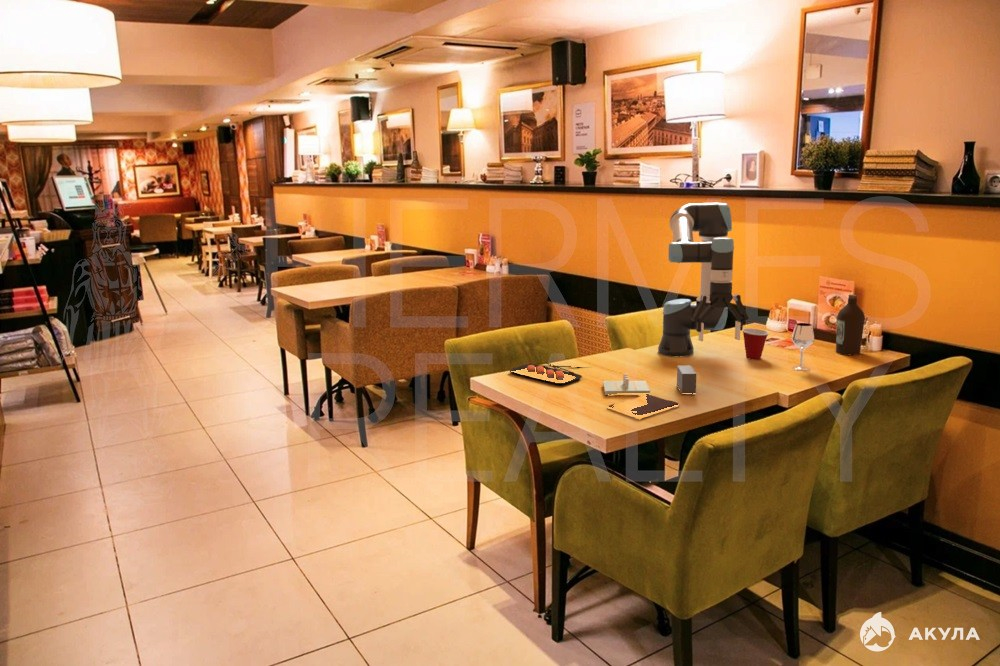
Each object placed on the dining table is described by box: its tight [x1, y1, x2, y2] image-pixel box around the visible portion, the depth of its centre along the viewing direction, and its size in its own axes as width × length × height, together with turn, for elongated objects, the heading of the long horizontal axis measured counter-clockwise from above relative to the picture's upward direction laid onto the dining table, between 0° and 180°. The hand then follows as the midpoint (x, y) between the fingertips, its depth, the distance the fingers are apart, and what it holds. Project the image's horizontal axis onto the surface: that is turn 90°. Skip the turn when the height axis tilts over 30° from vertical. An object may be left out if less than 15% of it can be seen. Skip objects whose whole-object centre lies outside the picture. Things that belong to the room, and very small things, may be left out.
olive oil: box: [835, 294, 866, 356], centre depth 303 cm, size 11×11×25 cm
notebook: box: [608, 394, 679, 415], centre depth 247 cm, size 15×20×2 cm
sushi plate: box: [509, 362, 583, 385], centre depth 291 cm, size 29×30×4 cm
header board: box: [602, 373, 651, 396], centre depth 264 cm, size 12×16×6 cm
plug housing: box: [676, 365, 697, 394], centre depth 262 cm, size 11×5×8 cm, turn 176°
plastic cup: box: [741, 327, 770, 361], centre depth 301 cm, size 11×11×12 cm
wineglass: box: [791, 322, 815, 371], centre depth 284 cm, size 8×8×18 cm
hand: (719, 340), depth 258 cm, fingers open, 13 cm apart
